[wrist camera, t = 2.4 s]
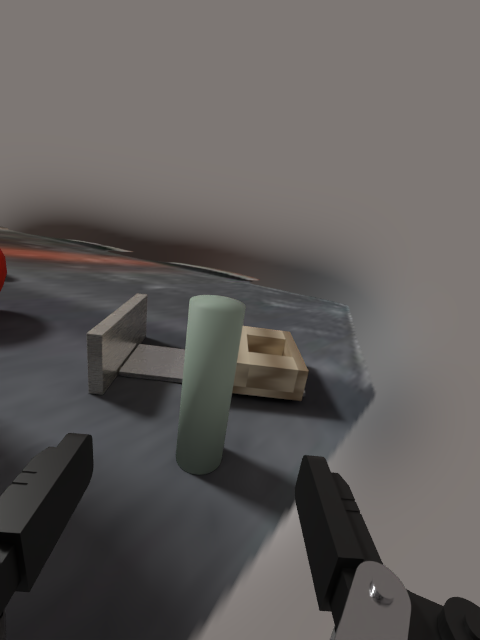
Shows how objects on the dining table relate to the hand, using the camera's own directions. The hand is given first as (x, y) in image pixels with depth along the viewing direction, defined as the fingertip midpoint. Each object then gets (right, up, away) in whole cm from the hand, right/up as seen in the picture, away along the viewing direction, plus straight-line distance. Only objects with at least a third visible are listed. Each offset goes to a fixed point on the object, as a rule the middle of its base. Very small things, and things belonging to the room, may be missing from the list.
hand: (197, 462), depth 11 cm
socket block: (+2, -2, +29) cm, 29 cm away
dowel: (-2, -6, +14) cm, 16 cm away
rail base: (-2, -2, +29) cm, 29 cm away
